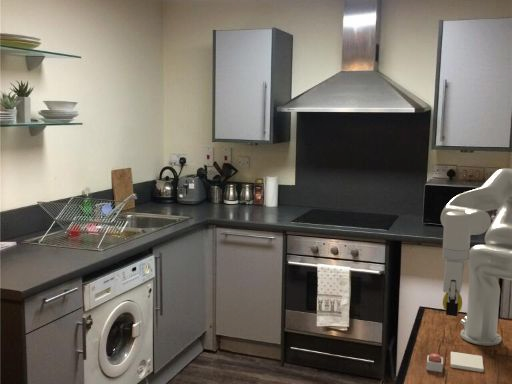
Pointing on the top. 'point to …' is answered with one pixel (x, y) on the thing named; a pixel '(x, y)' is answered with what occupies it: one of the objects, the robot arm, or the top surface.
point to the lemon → (455, 300)
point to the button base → (434, 365)
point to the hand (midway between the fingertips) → (452, 310)
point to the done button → (435, 358)
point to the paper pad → (467, 361)
